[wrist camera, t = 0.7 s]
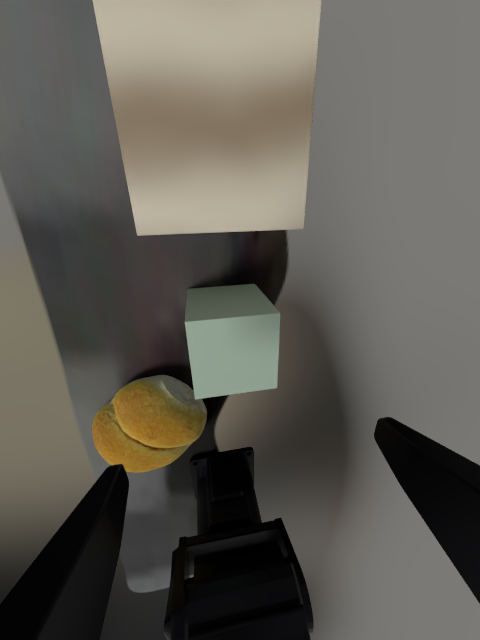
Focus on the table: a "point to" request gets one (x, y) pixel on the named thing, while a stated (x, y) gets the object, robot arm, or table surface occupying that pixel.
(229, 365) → the green block
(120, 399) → the bread roll
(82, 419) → the table surface
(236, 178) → the birch base
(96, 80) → the table surface
